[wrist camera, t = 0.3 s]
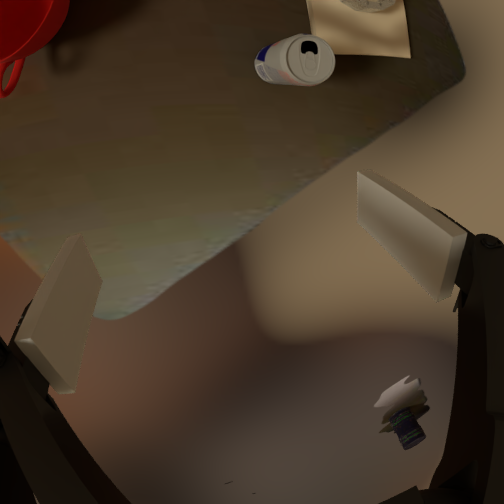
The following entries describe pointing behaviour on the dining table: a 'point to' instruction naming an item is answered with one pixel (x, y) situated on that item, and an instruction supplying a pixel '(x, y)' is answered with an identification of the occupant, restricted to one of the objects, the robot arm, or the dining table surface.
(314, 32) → the serving board
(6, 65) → the ceramic cup
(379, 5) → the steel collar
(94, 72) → the dining table surface
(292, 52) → the energy drink
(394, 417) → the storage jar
